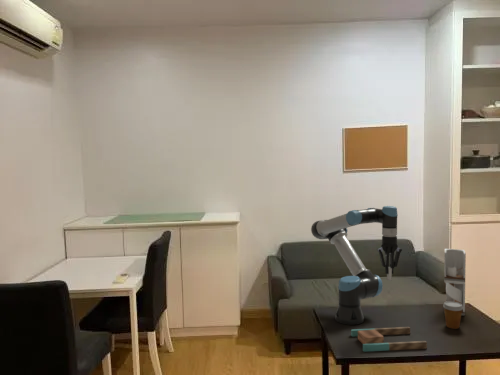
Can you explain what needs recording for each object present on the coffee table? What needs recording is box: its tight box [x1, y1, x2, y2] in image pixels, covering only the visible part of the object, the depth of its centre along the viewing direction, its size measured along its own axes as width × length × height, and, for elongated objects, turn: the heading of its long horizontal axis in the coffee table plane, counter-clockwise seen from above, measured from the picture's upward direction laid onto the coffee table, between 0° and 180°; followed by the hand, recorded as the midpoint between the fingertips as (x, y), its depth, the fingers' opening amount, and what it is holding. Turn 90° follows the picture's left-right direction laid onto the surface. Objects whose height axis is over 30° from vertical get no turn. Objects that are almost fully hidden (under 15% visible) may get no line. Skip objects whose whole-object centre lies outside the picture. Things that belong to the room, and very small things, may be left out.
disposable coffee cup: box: [442, 301, 463, 330], centre depth 231 cm, size 10×10×12 cm
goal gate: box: [350, 327, 390, 353], centre depth 213 cm, size 12×19×3 cm, turn 5°
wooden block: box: [357, 328, 385, 345], centre depth 213 cm, size 9×9×4 cm
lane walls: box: [374, 326, 428, 351], centre depth 214 cm, size 18×19×3 cm
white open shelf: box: [443, 248, 467, 316], centre depth 253 cm, size 11×11×35 cm
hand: (389, 279), depth 234 cm, fingers closed
